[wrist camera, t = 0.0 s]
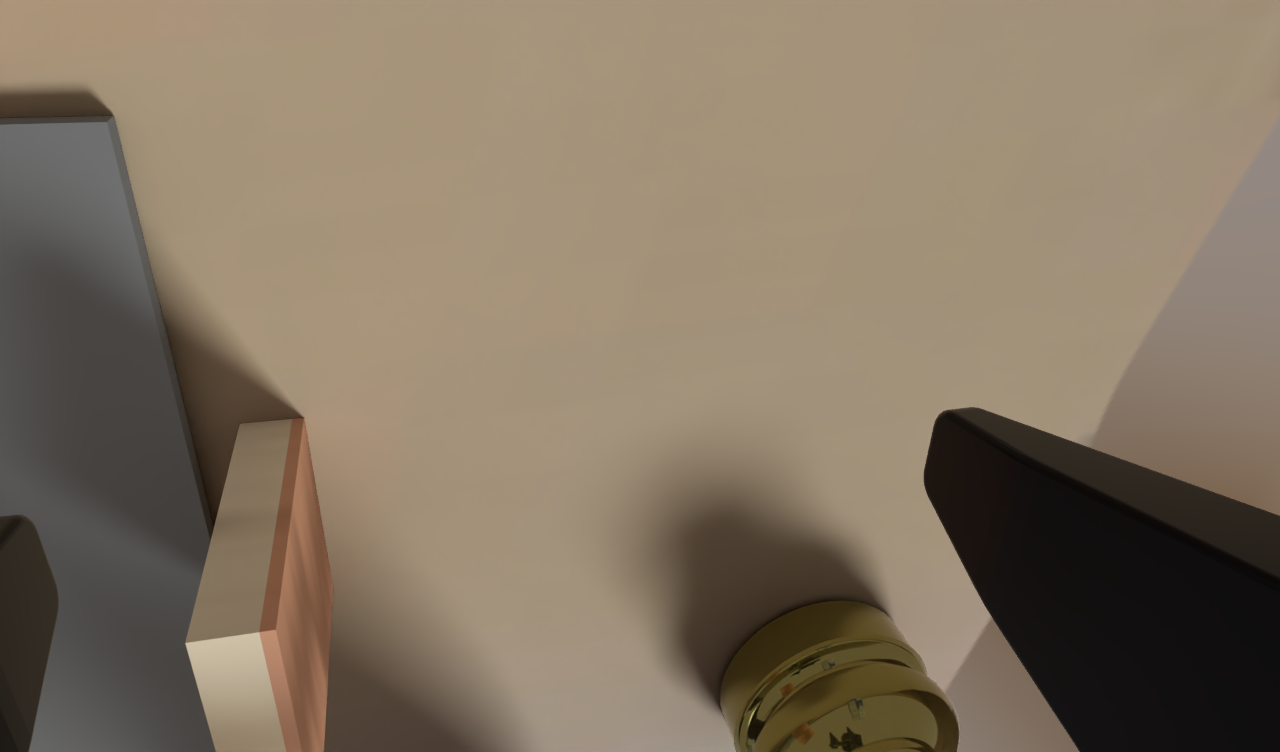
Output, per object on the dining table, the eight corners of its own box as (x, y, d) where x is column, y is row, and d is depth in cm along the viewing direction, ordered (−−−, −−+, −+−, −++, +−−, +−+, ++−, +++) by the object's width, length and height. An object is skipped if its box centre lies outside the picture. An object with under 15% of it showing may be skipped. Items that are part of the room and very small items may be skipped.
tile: (333, 590, 27) (319, 830, 20) (276, 598, 27) (241, 845, 20) (304, 418, 24) (276, 629, 17) (239, 424, 24) (185, 642, 17)
